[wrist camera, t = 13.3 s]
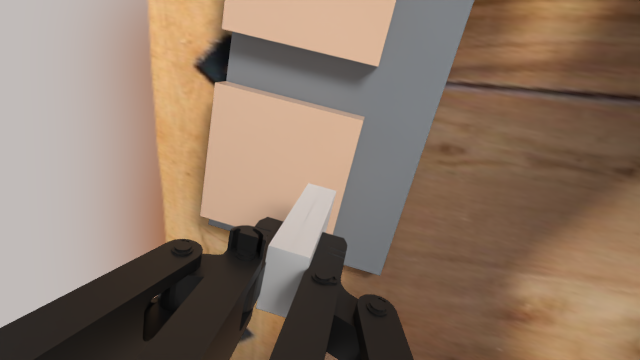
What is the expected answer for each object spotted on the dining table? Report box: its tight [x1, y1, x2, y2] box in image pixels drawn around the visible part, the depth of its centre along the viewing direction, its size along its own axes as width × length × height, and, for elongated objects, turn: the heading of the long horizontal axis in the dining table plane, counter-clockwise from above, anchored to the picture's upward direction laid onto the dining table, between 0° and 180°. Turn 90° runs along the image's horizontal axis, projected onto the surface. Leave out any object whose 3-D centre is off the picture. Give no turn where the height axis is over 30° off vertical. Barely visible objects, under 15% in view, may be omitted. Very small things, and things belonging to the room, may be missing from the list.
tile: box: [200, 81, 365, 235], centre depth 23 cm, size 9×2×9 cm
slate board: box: [209, 0, 474, 275], centre depth 22 cm, size 24×13×1 cm, turn 167°
